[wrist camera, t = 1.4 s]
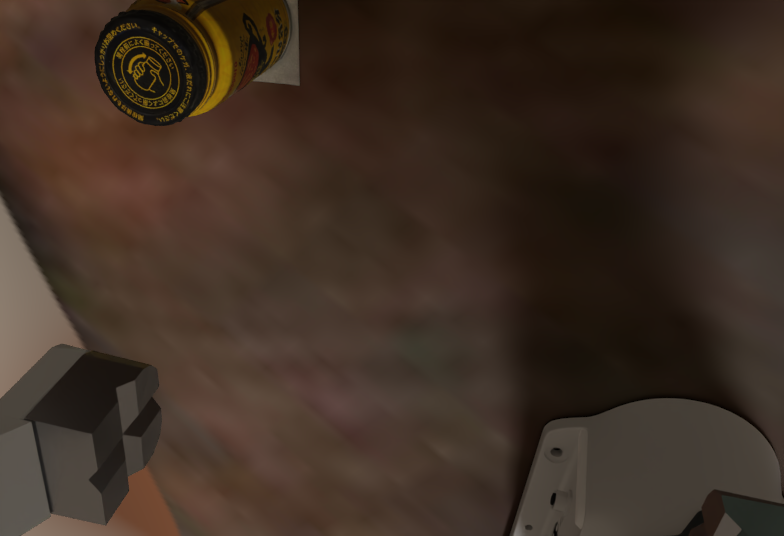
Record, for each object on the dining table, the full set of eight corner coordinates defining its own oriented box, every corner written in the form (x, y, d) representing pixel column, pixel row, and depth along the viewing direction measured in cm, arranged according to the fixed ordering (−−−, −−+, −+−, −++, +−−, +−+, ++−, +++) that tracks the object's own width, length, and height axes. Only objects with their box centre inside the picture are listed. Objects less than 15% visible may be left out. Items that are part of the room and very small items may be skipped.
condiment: (300, 84, 45) (219, 153, 35) (170, 72, 46) (55, 134, 36) (297, -46, 41) (205, -12, 31) (156, -55, 43) (23, -26, 33)
